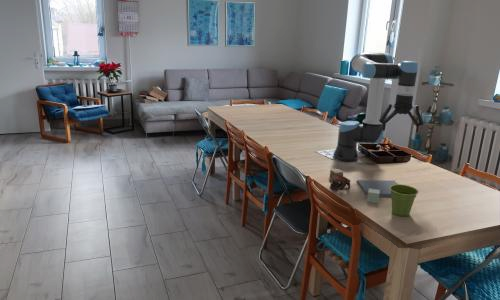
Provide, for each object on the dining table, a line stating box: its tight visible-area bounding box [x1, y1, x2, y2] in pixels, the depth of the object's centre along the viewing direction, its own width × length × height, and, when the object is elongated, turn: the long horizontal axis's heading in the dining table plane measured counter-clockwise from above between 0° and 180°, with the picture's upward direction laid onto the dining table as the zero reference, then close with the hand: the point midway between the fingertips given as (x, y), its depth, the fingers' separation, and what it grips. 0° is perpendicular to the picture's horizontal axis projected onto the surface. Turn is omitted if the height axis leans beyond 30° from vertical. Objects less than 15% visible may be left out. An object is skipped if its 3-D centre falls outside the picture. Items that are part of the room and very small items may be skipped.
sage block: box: [366, 188, 380, 204], centre depth 189 cm, size 5×5×5 cm
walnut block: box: [329, 168, 344, 181], centre depth 215 cm, size 5×5×5 cm
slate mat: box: [356, 179, 398, 198], centre depth 204 cm, size 18×20×2 cm
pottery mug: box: [329, 175, 352, 192], centre depth 201 cm, size 12×10×8 cm
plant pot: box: [390, 183, 420, 217], centre depth 176 cm, size 12×12×11 cm
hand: (398, 137), depth 197 cm, fingers open, 13 cm apart
